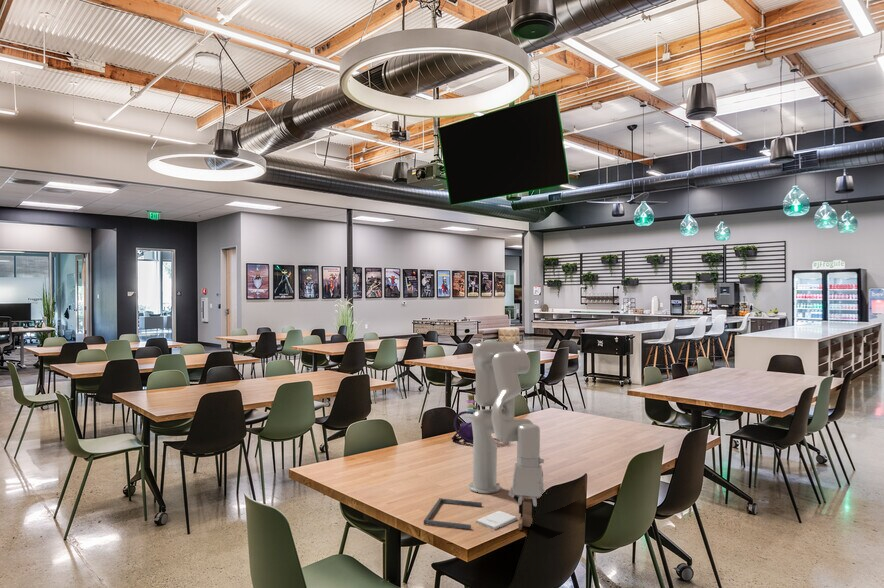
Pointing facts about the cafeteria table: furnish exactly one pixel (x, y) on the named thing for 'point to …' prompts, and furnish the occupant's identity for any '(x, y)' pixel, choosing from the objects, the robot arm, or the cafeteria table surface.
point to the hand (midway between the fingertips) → (527, 515)
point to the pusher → (526, 513)
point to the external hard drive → (496, 520)
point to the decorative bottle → (465, 428)
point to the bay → (449, 524)
